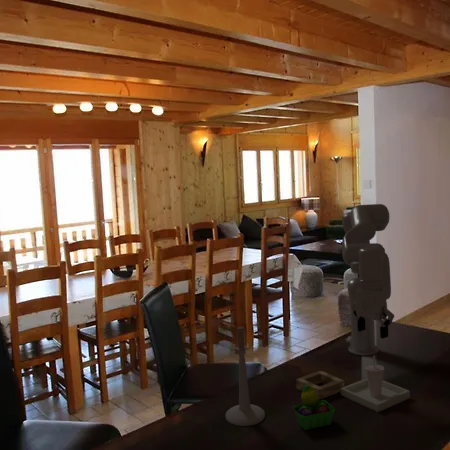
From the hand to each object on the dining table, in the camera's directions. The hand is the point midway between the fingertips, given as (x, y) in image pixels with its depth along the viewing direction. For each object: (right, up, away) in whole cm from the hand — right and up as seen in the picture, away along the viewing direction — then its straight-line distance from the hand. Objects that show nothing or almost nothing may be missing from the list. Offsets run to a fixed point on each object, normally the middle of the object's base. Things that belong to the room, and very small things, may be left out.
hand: (372, 333), depth 167 cm
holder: (-16, -22, +10) cm, 29 cm away
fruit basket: (-22, -25, -13) cm, 36 cm away
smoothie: (+2, -21, +2) cm, 22 cm away
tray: (+1, -22, +2) cm, 22 cm away
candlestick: (-43, -26, -6) cm, 51 cm away
